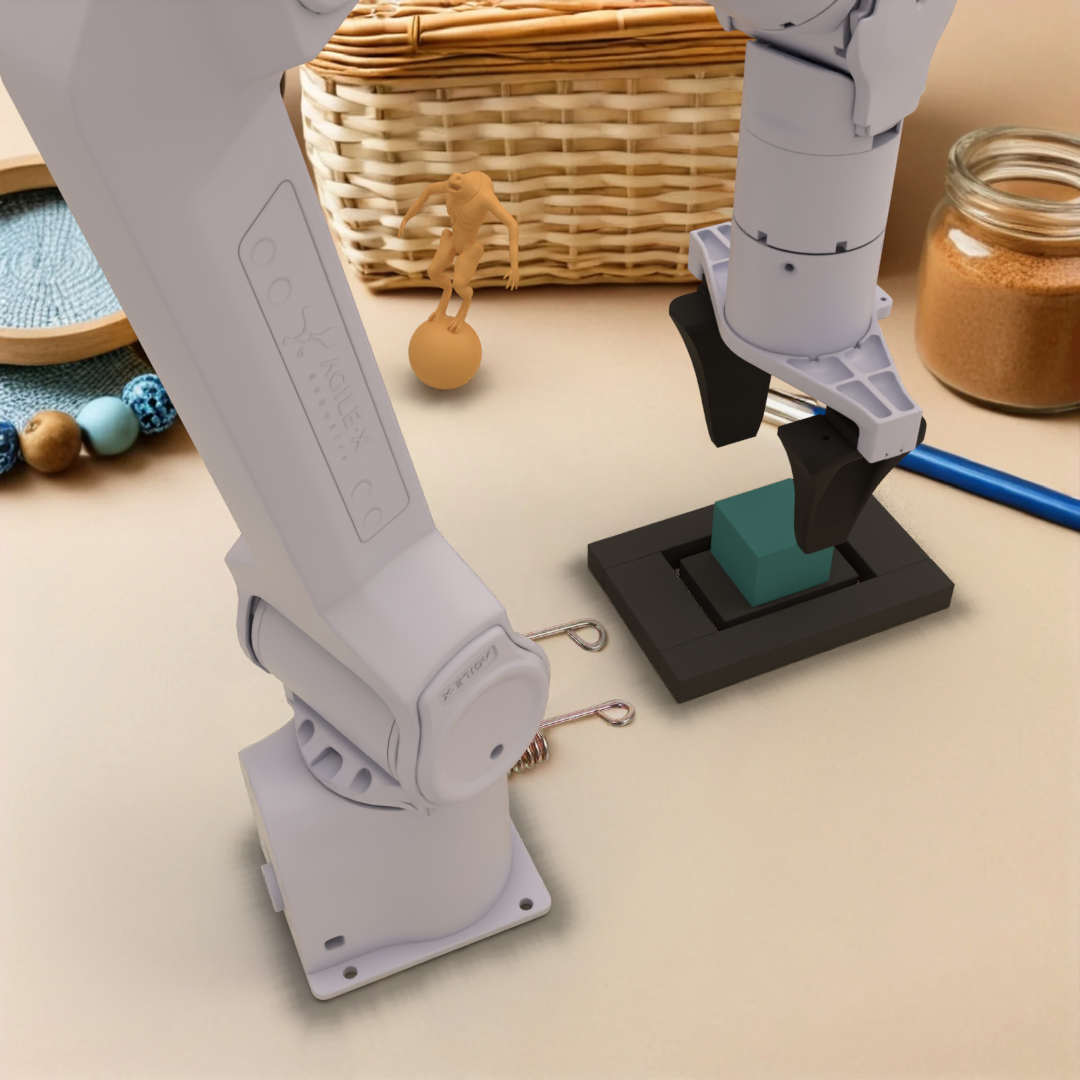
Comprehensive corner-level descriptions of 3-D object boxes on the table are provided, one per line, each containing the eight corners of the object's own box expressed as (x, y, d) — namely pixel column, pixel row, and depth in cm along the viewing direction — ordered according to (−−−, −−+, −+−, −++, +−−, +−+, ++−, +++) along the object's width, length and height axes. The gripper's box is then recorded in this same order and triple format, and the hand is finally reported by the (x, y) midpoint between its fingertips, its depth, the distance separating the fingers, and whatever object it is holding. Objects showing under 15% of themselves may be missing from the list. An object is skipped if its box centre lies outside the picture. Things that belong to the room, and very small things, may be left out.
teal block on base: (723, 639, 65) (729, 570, 62) (678, 577, 68) (682, 508, 65) (856, 593, 67) (868, 523, 64) (806, 534, 70) (816, 465, 67)
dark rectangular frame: (678, 704, 63) (679, 681, 62) (587, 566, 69) (586, 543, 68) (949, 607, 67) (955, 584, 66) (840, 484, 73) (843, 461, 72)
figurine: (368, 370, 81) (343, 177, 72) (442, 321, 84) (426, 131, 76) (479, 429, 77) (466, 231, 68) (552, 375, 80) (548, 180, 72)
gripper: (1017, 287, 50) (949, 567, 60) (801, 111, 60) (772, 375, 70) (843, 337, 48) (801, 618, 58) (649, 146, 58) (639, 413, 68)
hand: (775, 488), depth 64 cm, fingers open, 7 cm apart
